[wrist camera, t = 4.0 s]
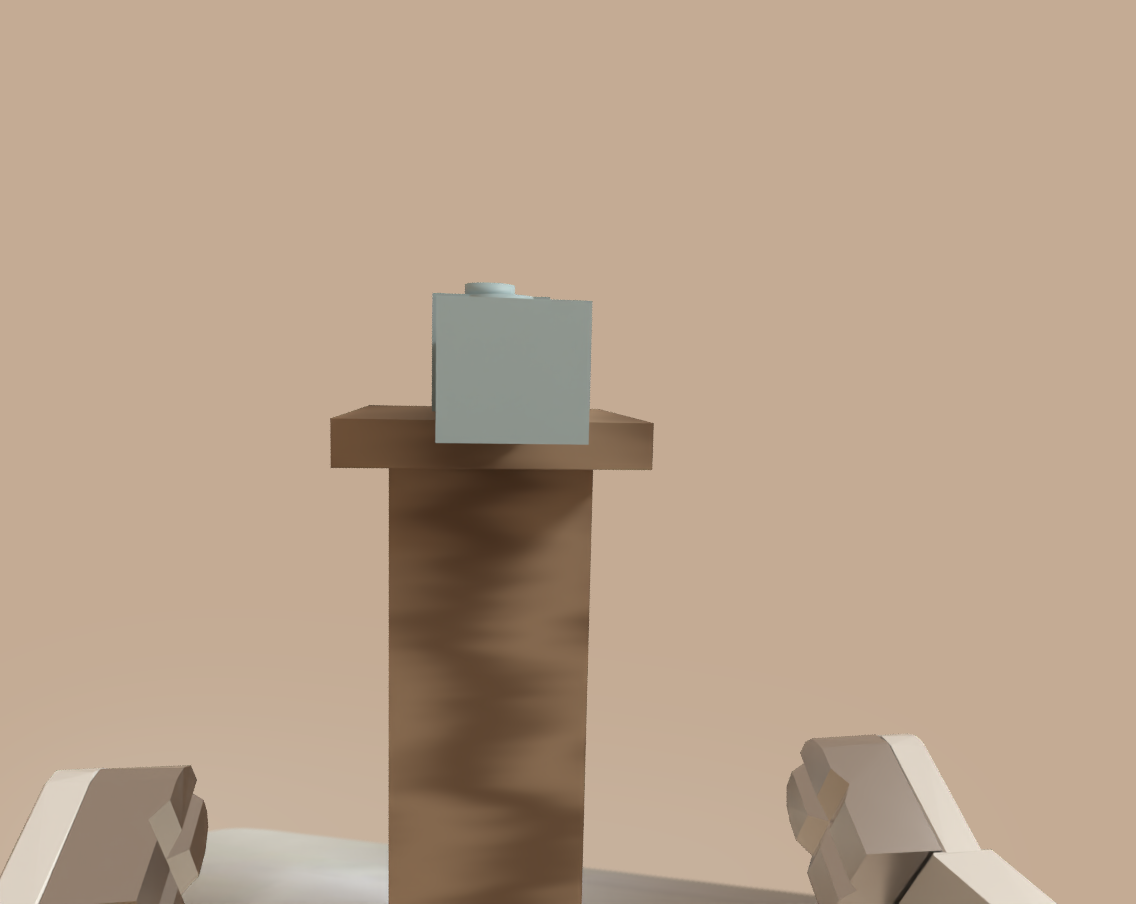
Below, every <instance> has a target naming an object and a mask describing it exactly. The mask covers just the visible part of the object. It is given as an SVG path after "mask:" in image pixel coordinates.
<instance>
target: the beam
mask: <svg viewBox="0 0 1136 904" xmlns="http://www.w3.org/2000/svg"><path fill="white" fill-rule="evenodd" d="M432 307H433V312H432V314H433V315H432V411H436V428H435V443H485V444H574V445H589V411H590V371H591V332H592V301H578V300H551V299H550V297H530V296H524V295H515V286H514V285H510V284H502V283H468V284H465V294H444V293H433V305H432Z"/></svg>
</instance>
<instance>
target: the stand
mask: <svg viewBox="0 0 1136 904" xmlns="http://www.w3.org/2000/svg"><path fill="white" fill-rule="evenodd" d="M330 422H331V468H389V904H581V903H582V863H583V827H584V789H585V749H586V711H587V674H588V636H589V634H588V633H589V599H590V561H591V523H592V522H591V521H592V486H593V470H597V469H598V470H652V458H653V428H654V427H653V426H654V424H653V423H650V422H647V421H643V420H639V419H635V418H631V417H627V416H623V415H619V414H616V413H612V412H608V411H604V410H600V409H590V411H589V445H574V444H485V443H435V428H436V411H432V406H380V405H369V406H366V407H363V408H360V409H357V410H354V411H351V412H348V413H346V414H343V415H340V416H336V417H333V418H331V419H330Z"/></svg>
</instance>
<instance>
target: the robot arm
mask: <svg viewBox="0 0 1136 904" xmlns="http://www.w3.org/2000/svg"><path fill="white" fill-rule="evenodd" d="M801 756H802V759H803V761H804V764H802V765H801V766H800V767H798V768H797V769H795V770H794V771H792V773H791V776H790V779H789V782H788V784H787V809H788V814H789V819H790V823H791V826H792V829H793V833H794V836H795V838H796V841H798V842H799V843H800V844H801V845H802V846H803V847H804V848H805V849H806V850H807V851H808V852H809V853H810V854H811V855H812V858H811V862H810V865H809V869H808V872H807V873H808V876H809V879H810V882H811V885H812V887H813V891H814V893H815V896H816V899H817V902H818V904H1057V903H1055V902H1054V901H1053V900H1052V899H1051V898H1050V897H1048V896H1047V895H1046V894H1045V893H1044V892H1042V891H1041V890H1040V889H1039V888H1038V887H1036V886H1035V885H1034V884H1033V883H1032V882H1030V881H1029V880H1028V879H1027V878H1026V877H1024V876H1023V875H1022V874H1021V873H1019V872H1018V871H1017V870H1016V869H1015V868H1013V867H1012V866H1011V865H1010V864H1009V863H1007V862H1006V861H1005V860H1004V859H1003V858H1001V857H1000V856H999V855H998V854H996V853H995V852H994V851H992V849H983V850H982V849H981V848H980V846H979V844H978V843H977V841H976V839H975V837H974V835H973V834H972V832H971V830H970V828H969V826H968V824H967V822H966V821H965V819H964V817H963V815H962V813H961V811H960V809H959V808H958V806H957V804H956V802H955V800H954V799H953V797H952V795H951V793H950V791H949V789H948V788H947V786H946V784H945V782H944V780H943V778H942V776H941V775H940V773H939V771H938V769H937V767H936V765H935V764H934V762H933V760H932V758H931V756H930V754H929V752H928V751H927V749H926V747H925V745H924V743H923V742H922V741H921V740H920V739H919V738H918V737H917V736H916V735H912V734H892V735H861V736H845V737H829V738H813V739H810V740H809V741H807V742H805V744H804V746H803V748H802V750H801ZM196 781H197V779H196V777H195V774H194V772H193V769H192V767H191V765H187V766H186V765H185V766H161V767H137V768H112V769H107V768H93V769H74V770H57V771H56V772H55V773H54V774H53V775H52V776H51V778H50V779H49V780H48V781H47V782H46V784H45V785H44V786H43V788H42V790H41V792H40V794H39V796H38V799H37V801H36V803H35V805H34V807H33V809H32V811H31V813H30V815H29V817H28V819H27V822H26V824H25V826H24V828H23V830H22V832H21V834H20V836H19V838H18V840H17V842H16V845H15V847H14V849H13V851H12V853H11V855H10V857H9V859H8V861H7V864H6V866H5V867H4V870H3V872H2V874H1V876H0V904H184V901H183V899H182V896H181V895H182V893H183V892H184V891H185V890H186V889H187V888H188V887H189V886H190V885H191V884H192V883H193V882H194V881H195V880H196V879H197V878H198V876H199V874H200V870H201V866H202V862H203V858H204V854H205V849H206V840H207V832H208V819H207V810H206V807H205V803H204V800H203V799H201V798H199V797H198V796H196V795H194V794H193V791H194V788H195V784H196Z"/></svg>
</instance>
